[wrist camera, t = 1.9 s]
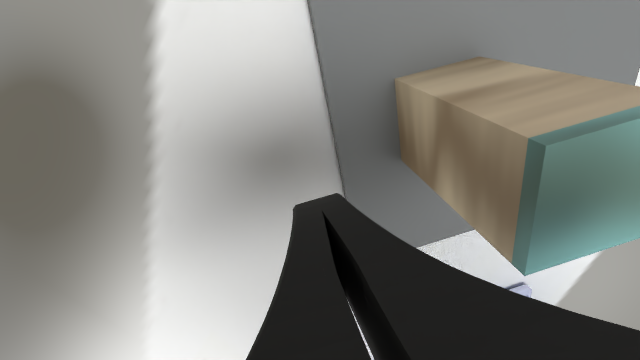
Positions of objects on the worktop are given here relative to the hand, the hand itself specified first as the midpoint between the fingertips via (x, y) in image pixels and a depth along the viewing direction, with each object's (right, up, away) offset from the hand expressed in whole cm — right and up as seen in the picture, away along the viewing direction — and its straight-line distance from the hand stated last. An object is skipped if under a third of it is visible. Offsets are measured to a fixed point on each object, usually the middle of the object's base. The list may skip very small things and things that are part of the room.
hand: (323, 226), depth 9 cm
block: (+5, +5, +6) cm, 9 cm away
